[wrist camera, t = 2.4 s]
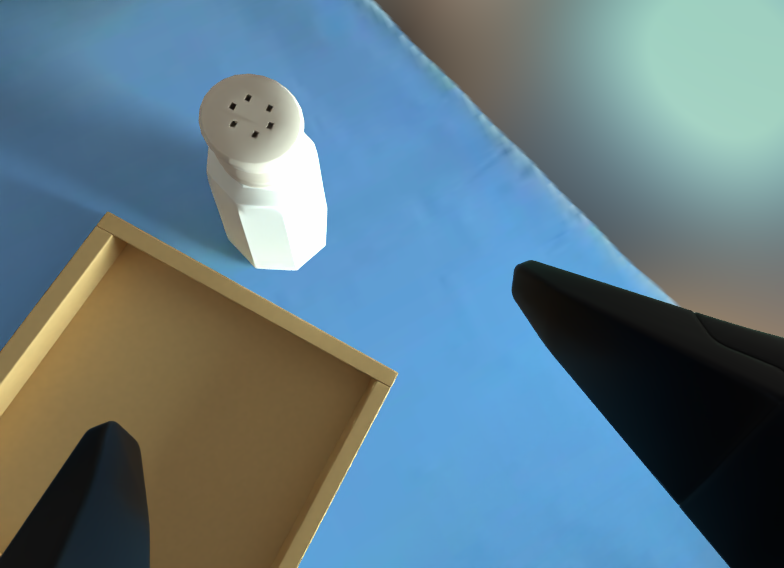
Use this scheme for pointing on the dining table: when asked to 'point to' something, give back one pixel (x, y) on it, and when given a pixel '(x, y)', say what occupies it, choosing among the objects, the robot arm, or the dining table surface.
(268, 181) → the salt shaker
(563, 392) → the dining table surface
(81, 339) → the tray
